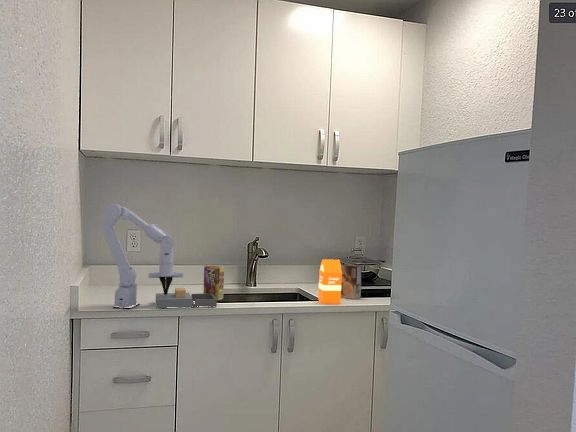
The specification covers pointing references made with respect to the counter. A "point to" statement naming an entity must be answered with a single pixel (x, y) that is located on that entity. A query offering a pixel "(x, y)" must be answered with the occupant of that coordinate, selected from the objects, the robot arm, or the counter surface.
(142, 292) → the counter surface
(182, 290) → the orange block
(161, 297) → the slate board
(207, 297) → the tray
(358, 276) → the coffee box
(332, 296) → the orange juice
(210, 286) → the candy box
